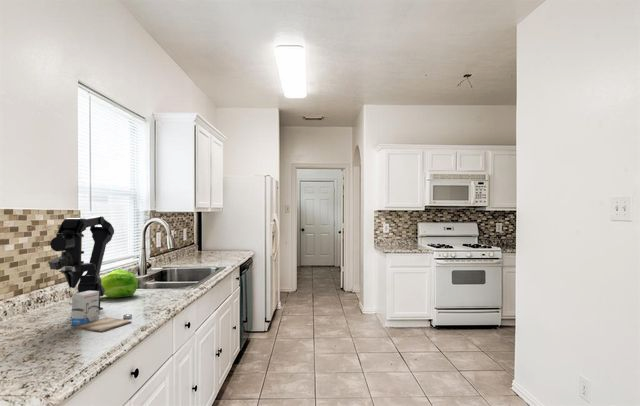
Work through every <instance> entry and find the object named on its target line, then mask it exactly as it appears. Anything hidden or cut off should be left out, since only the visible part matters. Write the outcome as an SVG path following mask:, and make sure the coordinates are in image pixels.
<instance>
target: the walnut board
mask: <svg viewBox="0 0 640 406" xmlns="http://www.w3.org/2000/svg"><path fill="white" fill-rule="evenodd" d="M131 323H132V321H131V320H127V319H119V318H112V317H103V318H98V320H95V321H92V322H88V323H85V324H81V325H74V329H80V330H85V331H91V332H97V333H103V332H108V331H110V330H113V329H117V328H119V327H122V326H126V325H129V324H131Z"/></svg>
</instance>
